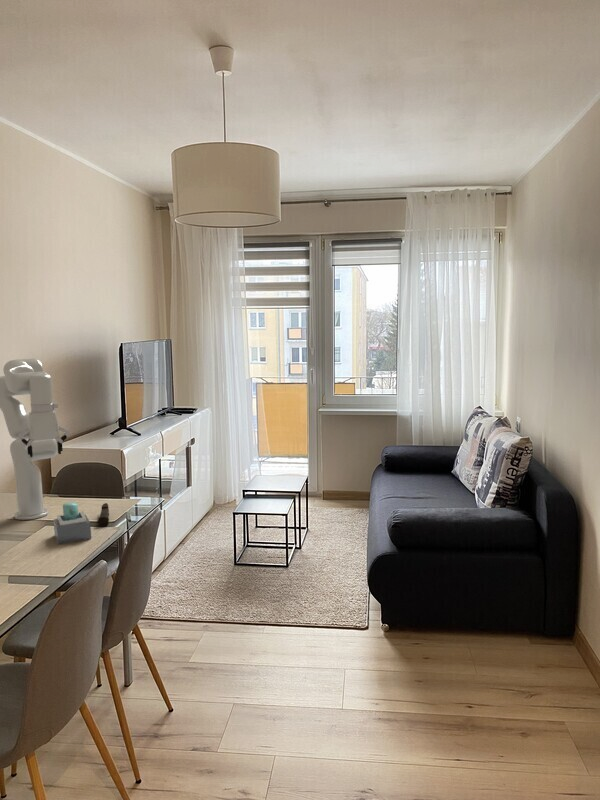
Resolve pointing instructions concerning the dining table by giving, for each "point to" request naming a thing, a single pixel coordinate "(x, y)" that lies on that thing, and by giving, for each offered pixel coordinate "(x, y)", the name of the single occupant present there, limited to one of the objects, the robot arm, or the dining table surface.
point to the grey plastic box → (72, 529)
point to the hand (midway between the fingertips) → (45, 454)
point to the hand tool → (104, 516)
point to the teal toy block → (70, 511)
